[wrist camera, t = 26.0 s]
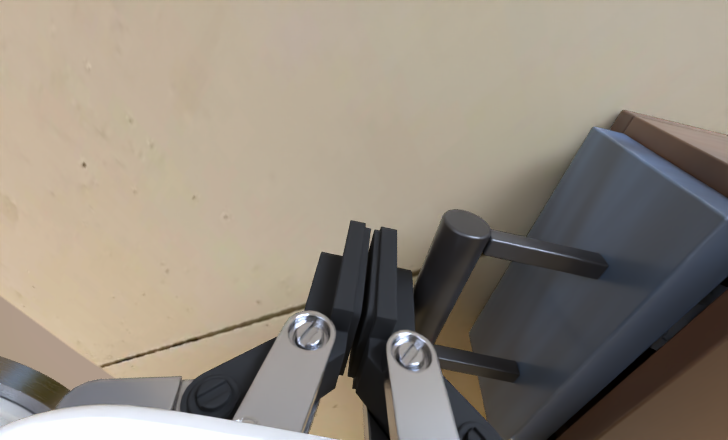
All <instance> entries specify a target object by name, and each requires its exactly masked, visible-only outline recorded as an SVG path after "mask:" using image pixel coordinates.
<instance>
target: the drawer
mask: <svg viewBox="0 0 728 440" xmlns="http://www.w3.org/2000/svg"><path fill="white" fill-rule="evenodd" d="M482 251H483V254H484V255H486V256H491V257H495V258H500V259H505V260H509V261H512V262H511V263H510V265H509V267H508V268H507V270H506V272H505V273H504V275H503V277H502V278H501V280H500V282H499V283H498V285H497V287H496V288H495V290H494V292H493V293H492V295H491V297H490V298H489V300H488V302H487V303H486V305H485V307H484V308H483V310H482V312H481V313H480V315H479V317H478V318H477V320H476V322H475V323H474V325H473V327H472V328H471V330H470V332H469V337H470V342H471V346H472V351H473V352H470V351H465V350H460V349H455V348H450V347H445V346H440V345H435V344H434V343H435V341H436V339H437V337H438V335H439V333H440V332H441V330H442V328H443V326H444V324H445V322H446V320H447V318H448V316H449V314H450V312H451V311H452V309H453V307H454V305H455V303H456V301H457V299H458V297H459V295H460V293H461V292H462V290H463V288H464V286H465V284H466V282H467V280H468V278H469V276H470V274H471V272H472V271H473V269H474V267H475V265H476V263H477V261H478V259H479V257H480V255H481V253H482ZM719 284H720V285H723V286H725V287H728V198H727V197H725V196H724V195H722V194H721V193H719V192H717V191H716V190H714V189H712V188H711V187H709V186H708V185H706V184H704V183H703V182H701V181H700V180H698V179H696V178H695V177H693V176H692V175H690V174H688V173H687V172H685V171H683V170H682V169H680V168H679V167H677V166H675V165H674V164H672V163H671V162H669V161H667V160H666V159H664V158H662V157H661V156H659V155H658V154H656V153H654V152H653V151H651V150H650V149H648V148H646V147H645V146H643V145H642V144H640V143H638V142H637V141H635V140H633V139H632V138H630V137H629V136H627V135H625V134H623V133H619V132H615V131H611V130H607V129H603V128H599V127H592V128H591V130H590V132H589V133H588V135H587V137H586V138H585V140H584V142H583V143H582V145H581V147H580V148H579V150H578V152H577V153H576V155H575V157H574V158H573V160H572V162H571V163H570V165H569V167H568V168H567V170H566V172H565V173H564V175H563V177H562V178H561V180H560V182H559V183H558V185H557V187H556V188H555V190H554V192H553V193H552V195H551V197H550V198H549V200H548V202H547V203H546V205H545V207H544V208H543V210H542V212H541V213H540V215H539V217H538V218H537V220H536V222H535V223H534V225H533V227H532V228H531V230H530V232H529V233H528V235H527V237H524V236H519V235H515V234H510V233H506V232H501V231H497V230H492V229H491V228H490V226H489V225H488V224H487V222H486V221H484V220H483V219H482V218H480V217H479V216H477V215H475V214H473V213H471V212H468V211H464V210H458V209H453V210H449V211H447V212H446V213H444V215H443V216H442V219H441V221H440V224H439V226H438V229H437V231H436V234H435V236H434V238H433V241H432V243H431V246H430V248H429V251H428V253H427V256H426V258H425V260H424V263H423V265H422V268H421V270H420V273H419V275H418V278H417V280H416V283H415V285H414V287H413V297H414V315H415V332H417V333H420V334H422V335H423V336H424V337H426V338H427V339H428V340H429V341H430V342H431V344H432V345H433V346H434V348H435V351H436V353H437V356H438V360H439V364H440V367H441V369H446V370H451V371H456V372H461V373H466V374H471V375H476V376H478V380H479V384H480V389H481V394H482V399H483V403H484V408H485V413H486V418H487V422H488V423H489V424H490V425H491V426H492V427H493V428H494V429H495V430H496V431H497V433H498V434H499V435H500V437H501V438H502V439H504V440H509V439H510V438H512V439H514V440H547V439H548V438H549V437H550V436H551V435H552V434H553V433H556V436H557V438H558V437H559V436H560V435H561V434H562V433H563V432H564V431H566V430H567V429H568V428H569V427H570V426H571V425H572V424H573V423H575V422H576V421H577V420H578V419H579V418H580V417H581V416H583V415H584V414H585V413H586V412H587V411H588V410H589V409H591V408H592V407H593V406H594V405H595V404H596V403H597V402H599V401H600V400H601V399H602V398H603V397H604V396H605V395H607V394H608V393H609V392H610V391H611V390H612V389H613V388H615V387H616V386H617V385H618V384H619V383H620V382H621V381H623V380H624V379H625V378H626V377H627V376H628V375H629V374H631V373H632V372H633V371H634V370H635V369H636V368H637V367H639V366H640V365H641V364H642V363H643V362H644V361H645V360H647V359H648V358H649V357H650V356H651V355H652V354H653V353H655V352H656V350H654V349H652V348H650V346H651V345H652V344H653V343H655V342H656V341H657V340H658V339H659V338H660V337H661V336H662V335H663V334H665V333H666V332H667V331H668V330H669V329H670V328H671V327H672V326H673V325H675V324H676V323H677V322H678V321H679V320H680V319H681V318H682V317H683V316H685V315H686V314H687V313H688V312H689V311H690V310H691V309H692V308H693V307H695V306H696V305H697V304H698V303H699V302H700V301H701V300H702V299H704V298H705V297H706V296H707V295H708V294H709V293H710V292H711V291H712V290H714V289H715V288H716V287H717V286H718V285H719Z"/></svg>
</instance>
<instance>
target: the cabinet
mask: <svg viewBox="0 0 728 440" xmlns="http://www.w3.org/2000/svg"><path fill="white" fill-rule="evenodd" d="M610 130H611V131H615V132H619V133H623V134H625V135H627V136H629V137H630V138H632V139H633V140H635V141H637V142H638V143H640V144H642V145H643V146H645V147H646V148H648V149H650V150H651V151H653V152H654V153H656V154H658V155H659V156H661V157H662V158H664V159H666V160H667V161H669V162H671V163H672V164H674V165H675V166H677V167H679V168H680V169H682V170H683V171H685V172H687V173H688V174H690V175H692V176H693V177H695V178H696V179H698V180H700V181H701V182H703V183H704V184H706V185H708V186H709V187H711V188H712V189H714V190H716V191H717V192H719V193H721V194H722V195H724V196H725V197H727V198H728V135H725V134H721V133H717V132H713V131H709V130H705V129H701V128H696V127H692V126H688V125H684V124H680V123H676V122H672V121H668V120H664V119H660V118H656V117H652V116H647V115H643V114H639V113H635V112H631V111H627V110H622V111H621V113H620V114H619V116H618V117H617V119H616V120H615V122H614V124H613V125H612V127H611V128H610ZM547 440H728V289H727V290H725V291H724V292H723V293H722V294H721V295H720V296H719V297H717V298H716V299H715V300H714V301H713V302H712V303H711V304H709V305H708V306H707V307H706V308H705V309H704V310H703V311H701V312H700V313H699V314H698V315H697V316H696V317H695V318H693V319H692V320H691V321H690V322H689V323H688V324H687V325H685V326H684V327H683V328H682V329H681V330H680V331H679V332H677V333H676V334H675V335H674V336H673V337H672V338H671V339H669V340H668V341H667V342H666V343H665V344H664V345H663V346H661V347H660V348H659V349H658V350H657V351H656V352H655V353H653V354H652V355H651V356H650V357H649V358H648V359H647V360H645V361H644V362H643V363H642V364H641V365H640V366H639V367H637V368H636V369H635V370H634V371H633V372H632V373H631V374H629V375H628V376H627V377H626V378H625V379H624V380H623V381H621V382H620V383H619V384H618V385H617V386H616V387H615V388H613V389H612V390H611V391H610V392H609V393H608V394H607V395H605V396H604V397H603V398H602V399H601V400H600V401H599V402H597V403H596V404H595V405H594V406H593V407H592V408H591V409H589V410H588V411H587V412H586V413H585V414H584V415H583V416H581V417H580V418H579V419H578V420H577V421H576V422H575V423H573V424H572V425H571V426H570V427H569V428H568V429H567V430H566V431H564V432H563V433H562V434H561V435H560V436H559V437H558V438H557V436H556V433H553V434H552V435H551V436H550V437H549V438H548V439H547Z"/></svg>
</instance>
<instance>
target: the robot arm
mask: <svg viewBox="0 0 728 440" xmlns="http://www.w3.org/2000/svg"><path fill="white" fill-rule="evenodd" d="M365 225H366V223H362V222H357V221H352V220H351V221H350V226H349V230H348V235H347V239H346V244H345V248H344V253H343V256H339V255H334V254H330V253H325V252H321V255H320V258H319V262H318V265H317V269H316V272H315V275H314V279H313V282H312V286H311V289H310V293H309V296H308V299H307V303H306V306H305V310H304V311H301V312H298V313H295V314H294V315H292V316H291V317H289V319H288V320H287V321H286V322H285V324H284V326H283V327H282V329H281V331H280V333H279V335H278V336H277V337H275V338H273V339H271V340H269V341H267V342H265V343H263V344H261V345H259V346H257V347H255V348H253V349H251V350H249V351H247V352H245V353H243V354H241V355H239V356H237V357H235V358H233V359H231V360H229V361H227V362H225V363H223V364H221V365H219V366H217V367H215V368H213V369H211V370H209V371H207V372H205V373H203V374H202V375H200V376H199V377H197V378H196V379H192V380H182V376H172V377H145V378H119V379H99V380H93V381H88V382H86V383H84V384H81V385H79V386H77V387H75V388H74V389H73V390H71V391H70V392H69V393H67V394H66V395H65V396H64V397H63V398H62V399H61V401H60V402H59V403H58V405H57V406H56V407H55V409H54V410H52V411H48V412H43V413H39V414H33V413H31V412H30V411H28V410H27V409H25V408H23V407H21V406H19V405H17V404H15V403H13V402H11V401H9V400H7V399H4V398H2V397H0V440H338V439H333V438H327V437H322V436H316V435H311V434H309V432H310V429H311V426H312V423H313V420H314V417H315V415H316V412H317V409H318V406H319V403H320V399H321V398H322V397H323V396H325V395H326V394H327V393H329V392H330V391H332V390H333V389H335V387H336V383H337V379H338V376H339V375H342V376H343V374H344V370H345V367H346V364H347V360H348V357H349V354H350V360H349V368H348V377H352V378H353V387H352V389H356V394H357V395H358V396H359V397H360V399H361V400H362V401H363V423H364V439H365V440H504V439H502V438H501V437H500V435H499V434H498V433H497V431H496V430H495V429H494V428H493V427H492V426H491V425H490V424H489V423H488V422H487V421H486V420H485V419H484V417H483V416H482V415H481V414H480V413H479V412H478V411H477V410H476V409H475V408H474V407H473V406H472V405H471V404H470V403H469V402H468V401H467V400H466V399H465V398H464V397H463V396H462V395H461V394H460V393H459V392H458V391H457V390H456V389H455V388H454V386H453V385H452V384H451V383H450V382H449V381H448V380H447V379H446V378H445V377H444V376H443V375H442V371H441V367H440V364H439V360H438V356H437V353H436V351H435V348H434V346H433V345H432V344H431V342H430V341H429V340H428V339H427V338H426V337H424V336H423V335H422V334H420V333H417V332H415V315H414V297H413V280H412V272H411V270H406V269H401V268H397V230H394V229H390V228H385V227H381V229H380V231H379V230H374V233H373V237H372V241H371V244H370V248H369V241H370V232H371V229H370V228H366V227H365ZM368 250H369V252H368ZM350 350H351V352H350ZM509 440H514V439H512V438H510V439H509Z"/></svg>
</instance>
